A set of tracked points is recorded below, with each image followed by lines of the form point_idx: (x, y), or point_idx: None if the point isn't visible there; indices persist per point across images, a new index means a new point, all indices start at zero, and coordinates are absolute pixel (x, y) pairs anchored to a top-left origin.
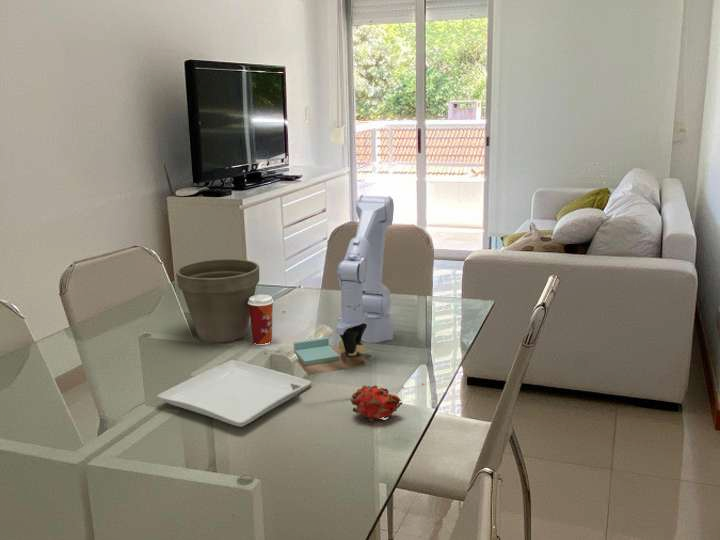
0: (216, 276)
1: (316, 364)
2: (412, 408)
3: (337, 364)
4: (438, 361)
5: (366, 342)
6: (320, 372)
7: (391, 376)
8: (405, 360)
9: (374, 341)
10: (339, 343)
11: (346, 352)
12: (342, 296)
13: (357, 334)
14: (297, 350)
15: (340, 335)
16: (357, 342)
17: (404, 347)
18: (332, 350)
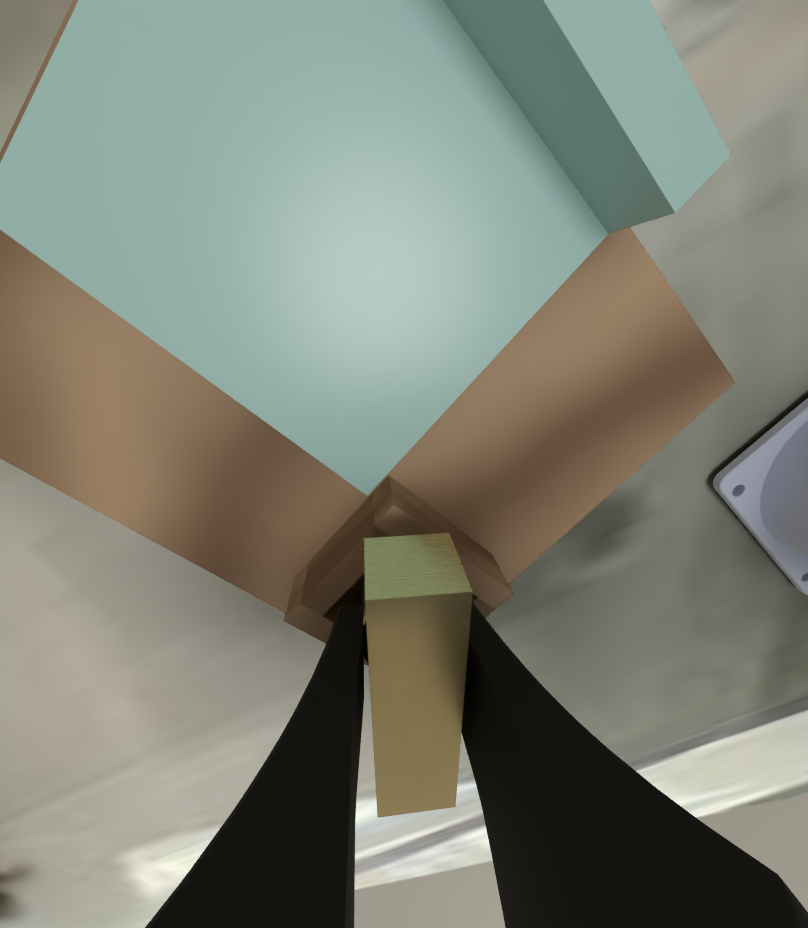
0: None
1: None
2: (116, 903)
3: (276, 505)
4: None
5: (792, 479)
6: (29, 467)
7: (363, 746)
8: (583, 711)
9: (796, 537)
10: (366, 585)
11: (337, 615)
12: None
13: (503, 861)
14: None
15: (193, 878)
16: (443, 754)
17: (762, 641)
18: (470, 362)
